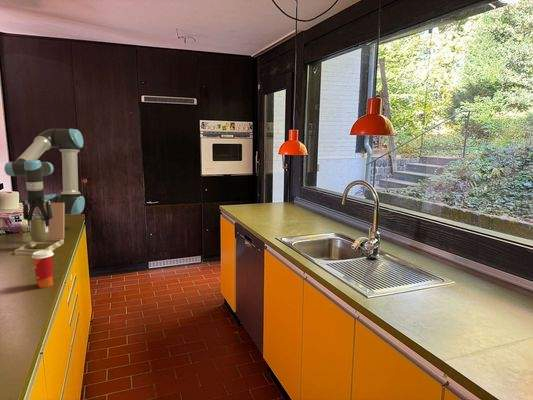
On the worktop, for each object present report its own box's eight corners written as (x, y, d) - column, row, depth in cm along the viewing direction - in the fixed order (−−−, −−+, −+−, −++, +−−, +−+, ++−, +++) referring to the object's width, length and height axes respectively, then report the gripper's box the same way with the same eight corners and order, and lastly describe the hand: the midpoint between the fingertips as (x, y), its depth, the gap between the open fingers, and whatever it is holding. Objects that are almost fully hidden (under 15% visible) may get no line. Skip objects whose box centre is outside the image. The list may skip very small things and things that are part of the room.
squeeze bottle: (40, 243, 195) (37, 210, 192) (27, 242, 197) (24, 209, 194) (52, 239, 203) (49, 207, 200) (39, 238, 205) (36, 206, 201)
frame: (36, 243, 210) (35, 239, 209) (63, 243, 211) (63, 239, 210) (14, 254, 190) (14, 250, 190) (45, 254, 191) (44, 249, 191)
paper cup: (40, 281, 156) (37, 249, 153) (59, 281, 156) (56, 249, 154) (30, 289, 148) (27, 255, 146) (50, 288, 149) (47, 255, 146)
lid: (35, 238, 209) (37, 238, 211) (63, 238, 210) (64, 238, 212) (36, 202, 209) (37, 202, 211) (63, 202, 210) (64, 202, 212)
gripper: (11, 190, 191) (16, 234, 195) (50, 190, 192) (54, 234, 196) (20, 188, 198) (24, 230, 202) (57, 188, 199) (61, 230, 203)
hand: (39, 232), depth 199 cm, fingers closed on squeeze bottle, 6 cm apart
